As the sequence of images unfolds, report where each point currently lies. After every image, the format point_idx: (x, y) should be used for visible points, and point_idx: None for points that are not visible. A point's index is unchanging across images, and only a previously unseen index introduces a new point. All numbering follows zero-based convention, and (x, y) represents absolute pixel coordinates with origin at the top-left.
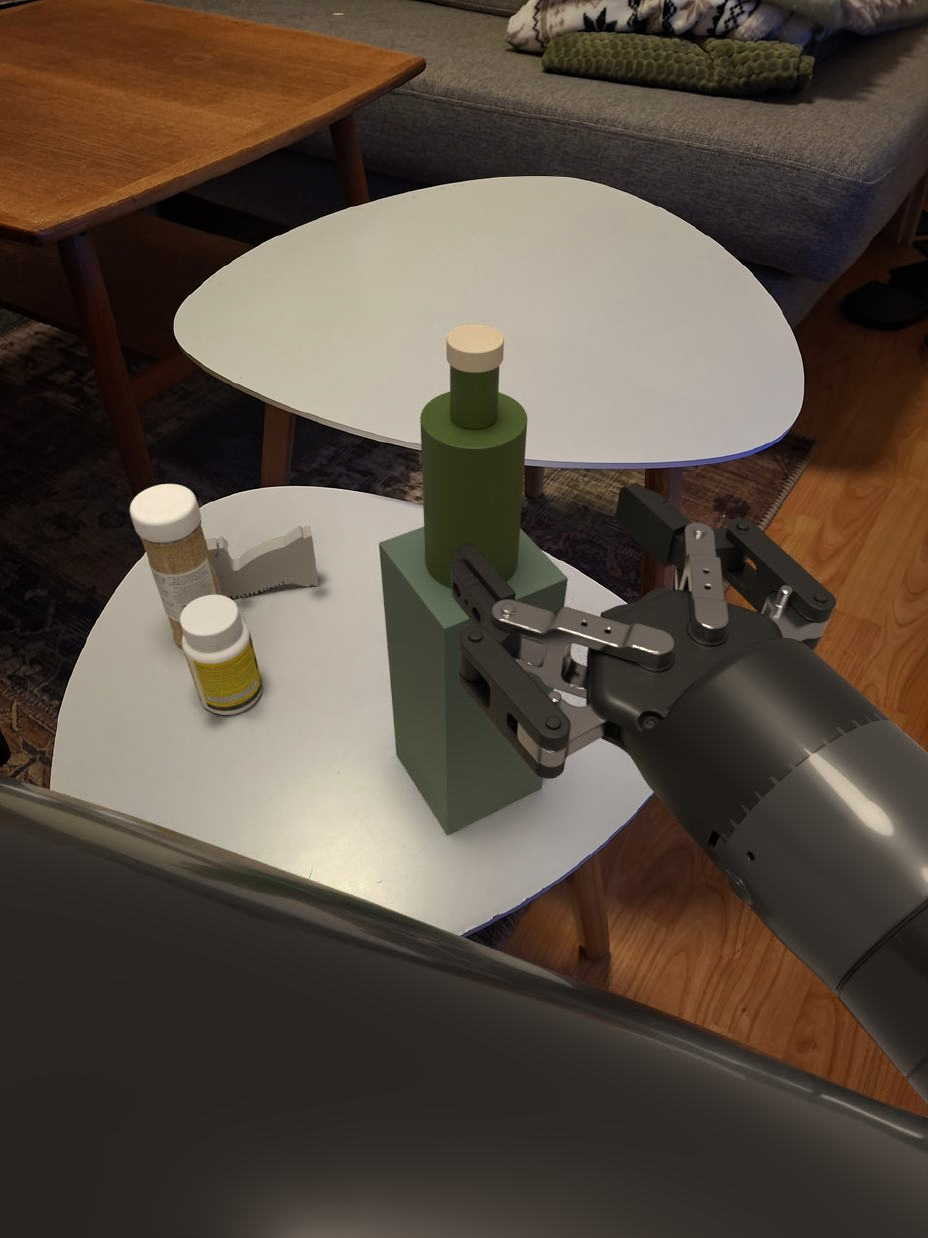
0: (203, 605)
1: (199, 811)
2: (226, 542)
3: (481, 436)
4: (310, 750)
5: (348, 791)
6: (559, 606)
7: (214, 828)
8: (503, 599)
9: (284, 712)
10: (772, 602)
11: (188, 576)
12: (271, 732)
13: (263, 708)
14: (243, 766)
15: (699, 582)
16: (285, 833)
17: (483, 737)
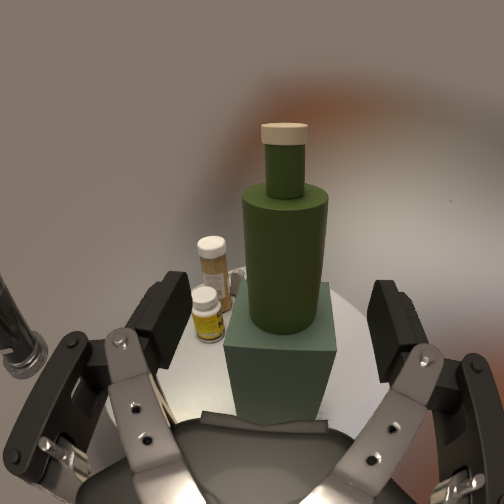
0: (204, 289)
1: (164, 369)
2: (243, 272)
3: (275, 202)
4: (219, 373)
5: (219, 399)
6: (327, 367)
7: (163, 379)
8: (137, 329)
9: (222, 351)
10: (453, 486)
11: (211, 277)
12: (211, 357)
13: (216, 345)
14: (191, 363)
15: (367, 446)
16: (183, 398)
17: (263, 417)
